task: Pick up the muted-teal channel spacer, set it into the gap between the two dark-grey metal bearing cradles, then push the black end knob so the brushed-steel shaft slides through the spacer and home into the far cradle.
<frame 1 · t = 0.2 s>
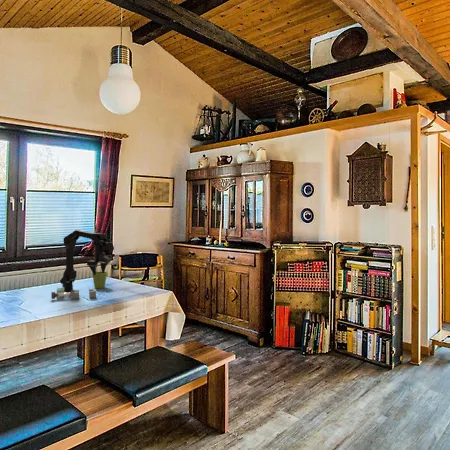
hand: (99, 274, 264), 14 cm above the table, fingers open, 9 cm apart
cradle rig: (78, 298, 255), on the table
shaft: (65, 294, 252), point 3 cm above the table, slide at 0.0 cm
plant pot: (99, 287, 289), on the table
spacer: (60, 296, 258), on the table
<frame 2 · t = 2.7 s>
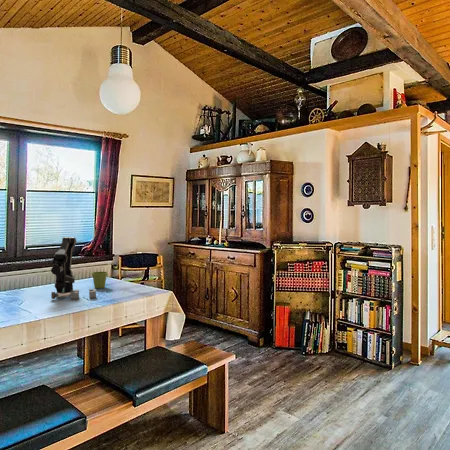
hand: (60, 295, 258), 1 cm above the table, fingers closed on spacer, 6 cm apart
spacer: (60, 296, 258), on the table, touching gripper
everything else where it was.
when the fingers open (2 cm above the table, at t = 7.2 s): spacer drops 1 cm, on the table.
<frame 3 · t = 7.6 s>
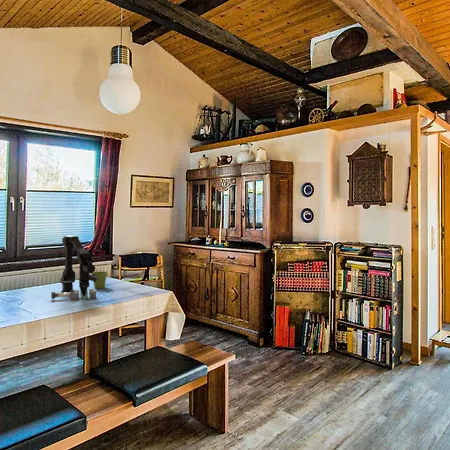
hand: (84, 294, 256), 2 cm above the table, fingers open, 9 cm apart
spacer: (84, 298, 256), on the table
everything else where it was.
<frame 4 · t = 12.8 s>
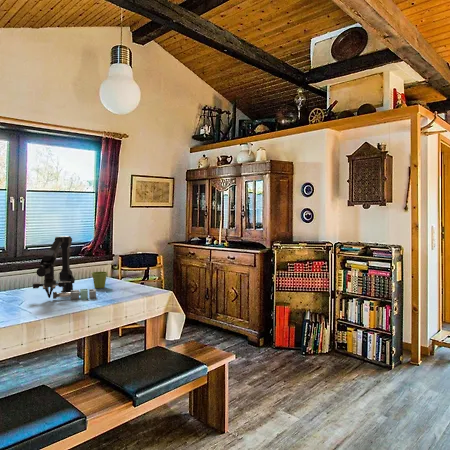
hand: (49, 297, 249), 1 cm above the table, fingers closed
shaft: (66, 294, 252), point 3 cm above the table, slide at 0.9 cm, touching gripper
everything else where it was.
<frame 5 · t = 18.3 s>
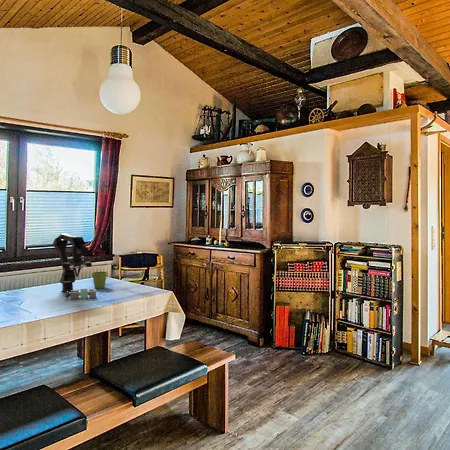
hand: (77, 277, 265), 12 cm above the table, fingers closed
shaft: (79, 293, 255), point 3 cm above the table, slide at 8.3 cm
everything else where it was.
at the end: shaft slide at 8.3 cm; spacer 0.1 cm from the target spot on the cradle rig, point 0.0 cm above the cradle rig's base; spacer tilted 0° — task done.
